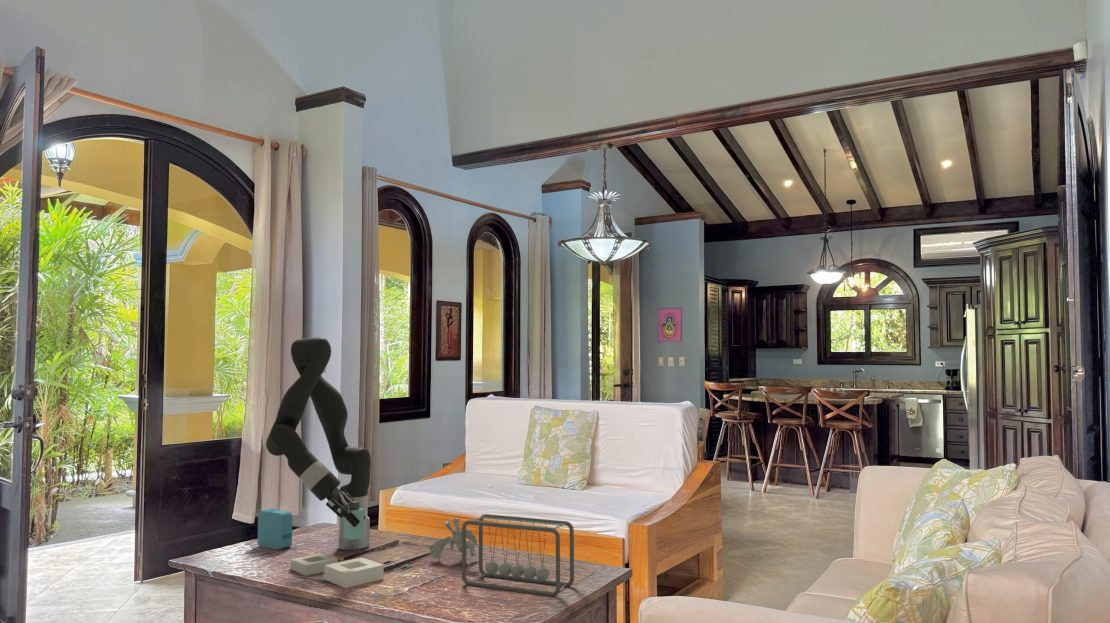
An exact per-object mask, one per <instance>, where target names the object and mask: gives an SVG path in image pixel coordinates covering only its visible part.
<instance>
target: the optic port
mask: <svg viewBox="0 0 1110 623" xmlns="http://www.w3.org/2000/svg"><path fill="white" fill-rule="evenodd" d="M384 565H385V564H382V563H380V562H376V561H373V560H370V559H367V558H365V557H362V556H361V557H357V558H353V559H348V560H343V561H339V562H337V563H333V564H328V565H324V572H323V573H324V576H323V580H324V579H325V581H326V582H329V581H330V582H329V583H332V584H335V585H337V586H339V587H341V588H344V589H348V588H352V587H356V586H362V585H365V584H369V583H374V582H376V581H377V582H378V581H382V580H384V579H385V578H384V574H385V573H384V568H385V567H384Z"/></svg>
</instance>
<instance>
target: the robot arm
mask: <svg viewBox="0 0 1110 623" xmlns="http://www.w3.org/2000/svg"><path fill="white" fill-rule="evenodd" d="M290 356H291V359H292V363H293V365H294V366H295V368H296V370H297V372H298V374H299V376H300V377H298V378H297V379H296V381H294V383H293V384H292V385H291V386H289V388H288V389H287V391H286V392H285V394H284V395H283V397H282V400H281V402H280V405H279V407H278V409H277V414H276V418H275V420H274V423H273V424H272V427H271V429H270V431H269V434H268V436H267V438H266V442H265V446H266V449H267V451H268V453H269V454H271V455H273V456H277V457H280V456H284V457H285V458H286V459H287V465H288V467H289V469H290V470H291V471H292V472H293V473H294V474H295V475H296V476H297V477H298V478H299V480H301V483H303V485H304V486H305V487H306V488H307V489H308V490H309V491H310V492H311V493H312V494H313V495H314V497H316V499H318V500H319V501H321V502H322V501H324V500H325V499H326V500H327V502H326V503H325V505H326V506H327V507H328V508H329V510H331V511H332V512H333V513H334V514H335V515H337V517H338V549H339V550H341V549H342V551H357V549H358V550H362V548H363V549H366V548H367V547H370V540H371V538H370V537H371V536H370V532H371V531H370V529H371V528H370V526H371V524H370V521H371V519H370V517H369V516H368V495H369V494H368V492H369V487H370V481H371V467H372V458H371V454H370V451H369V450H368V449H367V448H365V447H356V446H350V445H349V444H348V442H347V440H346V435H345V430H346V429H345V428H346V425H347V421H348V417H349V415H348V414H349V413H348V408H347V406H346V404H345V401H344V398H343V396H342V395H341V393H340V391H338V389H336V388H335V387H334V386H333V385H332V384H331V383H329V381H327V379H325V378H324V377H323V376H322V374H323V373H324V371H325V369H326V367H327V366H328V364H329V362H330V360H331V356H332V347H331V344H330V342H329V341H328V339H327V338H325V337H321V336H320V337H319V336H318V337H310V338H309V337H307V338H299V339H297V340H295V341H293V342H292V343H291V347H290ZM309 399H311V401H312V404H313V406H314V410H315V413H316V415H317V418H318V420H319V422H320V424H321V427H322V428H323V429H322V430H323V433H324V434H325V437H326V440H327V444H328V447H329V451H330V454H331V458H332V462H333V465H334V467H335V469H336V471H337V472H338V473H339V474H341V475H346V476H347V475H348V476H350V481H349V483H347V484H345V485H342V486H341V487H340V488H338V487H339V486H340V485H341V481H340V480H339V479H338V478H337V477H336V475H335V474H334V473H332V471H331V470H330V469H329V468H327V466H325V464H324V463H322V462H321V461H320V460H318V458H317V457H316V456H315V455H314V454H313V453H312V452H311V451H310V450H308V448H307V446H306V444H305V442H304V441H303V439H302V438H301V436H300V435H299V434H298V433H297V431H296V430H297V427H298V425H299V423H300V422H301V421H302V418H303V415H304V413H305V409H306V407H307V403H308V401H309ZM351 501H360V508H362V509H364V537H363V538H358V539H352V540H351V539H347V538H344V518H346V519H347V521H348V522H349V523H350V524H351V525H352V526H353V527H356V526H357V525H358V524H359V523H360V520H359V519H358V518H357V517H356V516H355V515H354V514H353V513H352V512H351V511H350V510H349V502H351Z"/></svg>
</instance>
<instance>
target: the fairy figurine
mask: <svg viewBox="0 0 1110 623" xmlns="http://www.w3.org/2000/svg"><path fill="white" fill-rule="evenodd" d="M452 522H453V524H454V527H455V529H453V527H452V523H451V522H450V520H449V519H448V520H445V522H444V526H445V527H446V528H447V529H448V530H449V532H451V535H452V536H445V537H444V538H441V539H439V540H437V541H435V542H434V543H432V544H431V545H430V546H429V547H428V550H429V555H432V557H433V558H432V559H433V560H434V559H437V561H441V556H442V554H443V551H444V549H445V547H446V546H447V544H448V543H449V545H450V548H451V550H452V551H453V550H454V546H455V545H454V544H456V548H457V550H458V551H459V552H460V553H461V554H462V528H461V526H460V524H459V523H460V518H459V517H457V518H453V519H452ZM466 539H468V540H466V559H467V558H468V557H467V556H468V550H469V555H470V559H473V557H475V556H476V555H477V554H479V551H475V547H479V544H478V543H479V540H477V539H476V535H475V534H474V533H473V531H472V530H470V529H466ZM477 542H478V543H477Z"/></svg>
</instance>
